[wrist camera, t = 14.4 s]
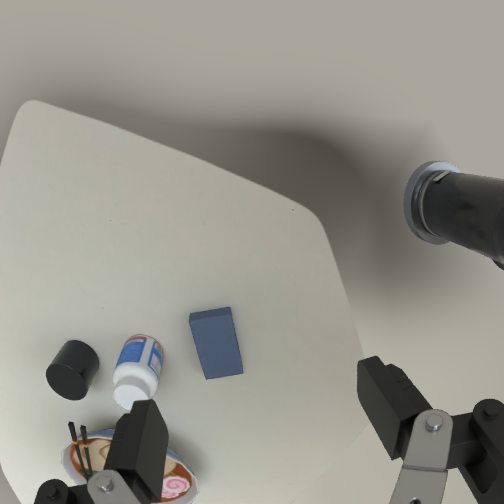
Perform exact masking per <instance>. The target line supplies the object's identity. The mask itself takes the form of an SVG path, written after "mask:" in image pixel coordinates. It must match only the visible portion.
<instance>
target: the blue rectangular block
mask: <svg viewBox="0 0 504 504" xmlns="http://www.w3.org/2000/svg"><path fill="white" fill-rule="evenodd" d="M189 323H190V326H191V330H192V334H193V337H194V341H195V345H196V348H197V352H198V355H199V358H200V362H201V365H202V369H203V372H204V375H205V379H206V380H207V379H213V378H220V377H226V376H232V375H237V374H243V367H242V362H241V357H240V353H239V348H238V343H237V339H236V334H235V329H234V324H233V320H232V315H231V310H230V307H226V308H220V309H214V310H209V311H203V312H197V313H191V314H190V318H189Z"/></svg>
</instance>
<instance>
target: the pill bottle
mask: <svg viewBox="0 0 504 504" xmlns="http://www.w3.org/2000/svg"><path fill="white" fill-rule="evenodd" d="M162 360H163V351H162V348H161V346H160V345H159V344H158V342H157V341H156V340H154V339H153V338H151V337H149V336H145V335H136V336H133V337H131V338H129V339H128V340H127V341H126V343H125V345H124V347H123V349H122V352H121V354H120V357H119V359H118V362H117V365H116V367H115V370H114V373H113V384H114V386H115V390H114V399H115V401H116V402H117V403H118V404H119V405H120V406H121V407H123V408H124V409H126V410H130V411H131V408H132V405H133V402H134V401H136V400H149V399H150V398H151V397H152V396H153V395H154V394H155V393H156V391H157V387H158V382H159V376H160V371H161V365H162Z"/></svg>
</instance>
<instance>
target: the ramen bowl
mask: <svg viewBox="0 0 504 504" xmlns="http://www.w3.org/2000/svg"><path fill="white" fill-rule="evenodd" d="M68 426H69V429H70V433H71V436H72V441H71V442H70V443H69V444H67V445H66V446H65V447H64V448H63V449H62V454H61V464H62V465H63V467H64V469H65V470H66V472H67V474H68V475H69V477H70V478H71V479H72V480H73V481H74V482H75V483H76V484H78V485H83V484H87V483H88V481H89V479H90V478H91V477H92V475H94V474H95V473H97V472H99V471H101V470H103V468H104V464H105V461H106V457H107V454H108V451H109V447H110V444H111V442H112V437H113V434H114V431H115V429H105V430H99V431H93V432H88V433H86V426H83V425H81V427H80V430H81V435H79V436H78V437H77V436H76V432H75V427H74V423H73V422H70V421H69V424H68ZM198 494H199V487H198V481H197V478H196V477H195V475H194V473H193V472H192V471H191V470H190V469H189V467H188V466H187V465H186V464H185V463H184V462H183V461H182V460H181V458H180V457H179V456H178V455H177V454H176V453H175V452H174V451H173V450H172V449H171V448H169V447H167V454H166V462H165V471H164V479H163V488H162V498H161V503H151V504H191V503H192V502H193V501H194V499H195V498H196V497H197V496H198Z"/></svg>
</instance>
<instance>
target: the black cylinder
mask: <svg viewBox="0 0 504 504" xmlns="http://www.w3.org/2000/svg"><path fill="white" fill-rule="evenodd" d="M98 368H99V359H98V356H97V354H96V353H95V351H94V350H93V349H92V348H91V347H90V346H88V345H87V344H85V343H83V342H81V341H77V340H71V341H68V342H66V343H65V344H64V345H63V347H62V348H61V349H60V351H59V352H58V354H57V355H56V357H55V358H54V360H53V361H52V363H51V364H50V365H49V367H48V369H47V371H46V378H47V381H48V383H49V385H50V386H51V388H52V389H53V390H54V391H55V392H56V393H57V394H59V395H60V396H62V397H64V398H66V399H69V400H80V399H82V398H84V397H85V396H86V394H87V392H88V389H89V387H90V385H91V383H92V381H93V379H94V377H95V374H96V372H97V370H98Z"/></svg>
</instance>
